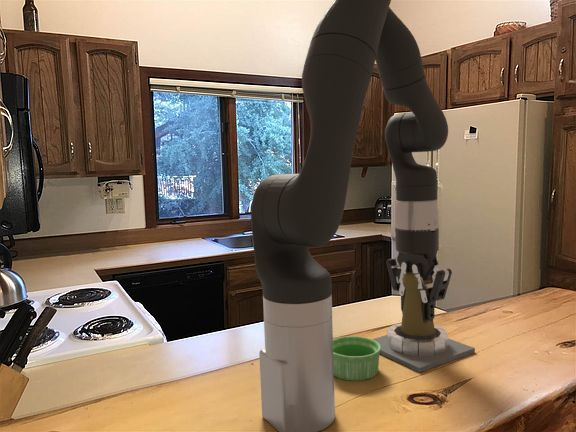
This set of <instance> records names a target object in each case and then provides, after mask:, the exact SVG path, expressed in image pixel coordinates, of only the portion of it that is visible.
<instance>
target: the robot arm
mask: <svg viewBox="0 0 576 432" xmlns="http://www.w3.org/2000/svg"><path fill="white" fill-rule="evenodd" d="M391 1H392V0H334V1H333V3H332V4H331V5H330V6H329V8H328V9H327V11H326V12H325V13H324V14H323V16H322V18H321V19H320V21H319V22H318V24H317V25H316V28H315V30H314V32H313V35H312V38H311V40H310V43H309V47H308V50H307V53H306V56H305V60H304V64H303V69H302V74H301V88H302V92H303V99H304V102H305V105H306V111H307V114H308V116H309V123H310V135H309V142H308V147H307V149H306V150H307V151H306V156H305V158H304V162H303V165H302V168H300V169H301V170H300V172H299V173H280V174H272V175H269V176H267V177H266V178H264V179H263V180H261V181H260V182H259V183H258V186H256V189H255V190H254V193H253V196H252V199H251V200H252V201H251V208H250V209H251V211H250V221H251V223H250V224H251V235H252V243H253V244H252V246H253V256H254V258H253V259H254V265H255V272H256V275H257V277H258V279H259V281H260V284H261V288H262V303H263V305H262V306H263V309H262V310H263V327H264V328H263V329H264V330H263V332H264V348H263V349H260V350H259V374H260V375H259V376H260V377H259V378H260V397H261V398H260V399H261V416H262V418H263V419H265V420H266V421H267V422H268V423H269V424H270V425H271V426H272V427H273V428H274V429H275V430H276V431H278V432H320V431H323V430H325V429H326V428H328V427H329V426H331V425H332V424H333V422H334V420H335V418H336V407H335V406H336V405H335V403H336V401H335V399H336V397H335V376H334V361H333V339H334V335H333V332H334V331H333V298H332V297H333V295H332V293H333V290H332V287H333V286H332V284H333V283H332V276H331V274H330V272H329V270H327V269H326V268H325V267H323V266H322V265H321V264H319V262H317V261H316V259H315V258H314V257H313V256H312V255H311V253H310V250H309V247H310V248H313V247H314V248H316V247H317V248H318V247H319V248H320V247H323V246H324V245H326V244H328V243H329V242H330V241H331V240H332V239H333V237H334V236H335V235H336V234H337V232H338V229H339V226H340V225H341V222H342V218H343V215H344V210H345V206H346V200H347V195H348V188H349V187H348V186H349V181H350V174H351V168H352V167H351V166H352V162H353V161H352V160H353V154H354V149H355V148H354V147H355V143H356V138H357V134H358V131H359V125H360V121H361V115H362V111H363V107H364V103H365V99H366V95H367V92H368V91H369V90H368V89H369V85H370V82H371V79H372V75H373V72H374V67H375V63H376V69H377V70H378V71H377V72H378V74H379V79H380V82H381V86H382V89H383V93H384V96H385V99H386V101H388V102H387V103H390V104H392V105H398V106H403V107H406V108H408V109H409V110H410V111H409V112H408V111H407V112H400V113H395V114H393V115H392V116H391V117H390V118H389V119H388V121H387V123H386V126H385V129H384V130H385V131H384V139H385V144H386V148H387V151H388V154H389V157H390V160H391V164H392V168H393V172H394V177H395V199H396V201H395V210H394V233H395V234H394V236H395V237H394V239H395V240H394V244H395V251H396V252H398V254H397V256H396V257H393V258H388V259H386V261H385V264H386V268H387V271H388V276H389V280H390V285H391V288H392V290H393V291H397V292H398V294H399V296H400V309H401V313H402V315H403V307H404V299H405V291H406V288H405V287H404V286H403V276H404V274H406V273H407V272H413V274H414V275H415V276H416V278H417V279H418V290H420V293H421V298H422V301H423V302H421V306H422V315H423V321H424V323H427V322H428V321H429V320H430V321H432V320H433V321H434V319H435V314H436V313H435V303H436V302H438V301H442V300H444V299H445V298H446V294H447V290H448V288H449V284H450V282H451V281H450V280H451V277H452V274H453V272H452V270H451V268H444V267H442V266H440V265H439V261H438V259H437V254H438V252H439V249H440V244H439V242H440V234H439V233H440V231H439V230H440V229H439V227H440V225H439V224H440V221H439V220H440V218H439V217H440V216H439V212H440V211H439V206H438V174H437V171H436V169H435V168H433V166H429V165H424V164H419V163H418V162H416V160H415V158H414V156H413V153H428V152H436V151H438V150H440V149H441V148H443V147H444V145H445V144H446V143H447V140H448V135H449V125H448V121H447V118H446V116H445V113H444V112H443V110H442V108H441V106H440V105H439V103H438V101H437V99H436V97H435V96H434V94H433V91H432V90H431V88H430V86H429V84H428V81H427V78H426V73H425V67H424V63H423V60H422V55H421V50H420V48H419V45H418V42H417V40H416V39H415V37H414V35H413V33H412V31H410V29H409V28H408V27H407V25H406V24H405V23H404V22H403V21H402V19H400V18H399V16H398V15H397V14H396V13H395V12H394V11H393V9H391V7H390V5H391ZM429 279H431V280H432V281H431V283H430V284H426V285H425V284H424V283H423V280H429ZM428 288H429V290H428V292H429V295H428V293H427V289H428Z"/></svg>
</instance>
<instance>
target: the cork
mask: <svg viewBox="0 0 576 432" xmlns="http://www.w3.org/2000/svg"><path fill="white" fill-rule="evenodd" d="M431 281H432V280H431V279H429V280H423V283H424V284H425V285H426V284H430V283H431ZM403 286H404V287H405V288H406V291H405V299H404V307H403V314H402V316H401V317H402V318H401V322H400V323H401V331H402V332H404V333H406V334H409V335H414V336H427V335H431V334H433V333H434V332H435V329H434V325H435V323H434V319H433V320H432V321H430V320H429V321H428V322H427V323H424V321H423V315H422V306H421V302H423V301H422V298H421V293H420V290H418V279H417V278H416V276H415V275H414V274H413V272H407V273H406V274H404V276H403ZM428 290H429V288H428V289H427V293H428V295H429V292H428Z"/></svg>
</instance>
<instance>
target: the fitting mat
mask: <svg viewBox="0 0 576 432" xmlns="http://www.w3.org/2000/svg"><path fill="white" fill-rule="evenodd" d="M404 338H407V339H414V340H431V339H428V338H422V337H404ZM371 339H372V340H375V341H376V342H378V343H379V344H380V346H381V351H380V354H379V355H381V356H383V357H386V358H387V359H389V360H391V359H392V360H391V361H393V362H396V363H397V364H399V365H403V366H405V367H407V368H408V369H410V370H413V371H414V372H417V373H418V374H419V373H422V372H425V371H428V370H430V369H433V368H436V367H438V366H442V365H444V364H447V363H449V362H452V361H455V360H458V359H461V358H464V357H466V356H468V355H472V354H475V353H476V352H475V351H476V350H475V349H476V348H475V347H473V346H470V345H467V344H466V343H465V344H464V343H463V342H459V341H456V340H454V339H451V338H449V337H448V348H447V350H446V352H445V353H442V354H439V355H436V356H425V357H419V356H418V357H417V356H410V355H404V354H401V353H399V352H396V351H394V350H392V349H391V348H390V347H389V345H388V344H387V334H386V335H382V336H378V337H376V338H371Z"/></svg>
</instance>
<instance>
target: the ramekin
mask: <svg viewBox="0 0 576 432" xmlns="http://www.w3.org/2000/svg"><path fill="white" fill-rule="evenodd" d="M372 339H373V338H370V337H365V336H358V335H357V336H356V335H355V336H354V335H352V336H351V335H350V336H349V335H348V336H347V335H346V336H340V337H335V338H333V361H334V377H337V379H341V380H344V381H349V380H351V382H357V381H358V382H360V381H359V380H361V381H366V379H367V380H369V378H370V379H371V378H373V377H375V376H376V375H377V373H379V372H378V371H379V365H380V364H379V363H380V361H379V359H380V355H381V354H380V351H381V346H380V344H379V343H378V342H376V341H375V340H372ZM352 380H353V381H352Z"/></svg>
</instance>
